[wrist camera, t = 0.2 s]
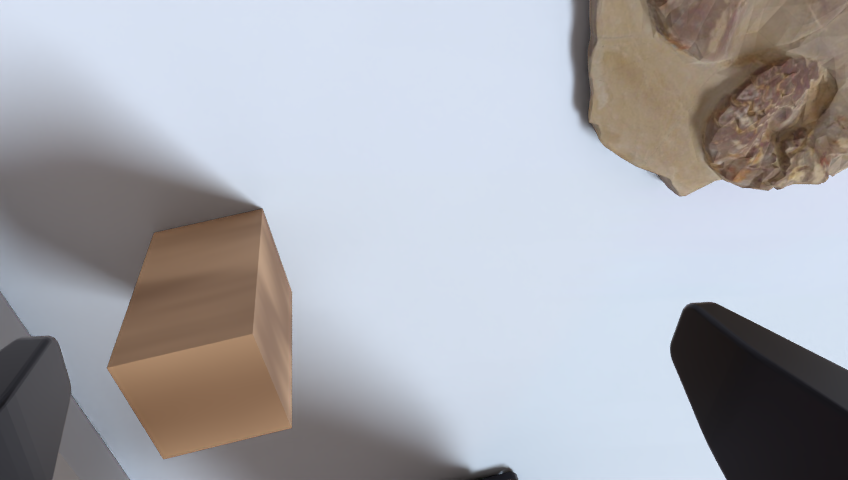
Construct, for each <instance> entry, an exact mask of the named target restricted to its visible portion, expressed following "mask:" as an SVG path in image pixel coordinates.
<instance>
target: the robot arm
mask: <svg viewBox="0 0 848 480" xmlns="http://www.w3.org/2000/svg"><path fill="white" fill-rule="evenodd" d="M670 353H671V358H672V361H673V363H674V366H675V368H676V370H677V373H678V375H679V378H680V380H681V382H682V385H683V387H684V390H685V392H686V394H687V397H688V399H689V402H690V404H691V406H692V409H693V411H694V414H695V416H696V418H697V421H698V423H699V426H700V428H701V430H702V433H703V435H704V437H705V439H706V441H707V444H708V446H709V448H710V450H711V452H712V453H713V455H714V457H715V459H716V461H717V463H718V465H719V467H720V469H721V470H722V472H723V474H724V476H725V478H726V480H848V370H847V369H845V368H843V367H841V366H839V365H837V364H835V363H833V362H831V361H829V360H827V359H825V358H823V357H821V356H819V355H817V354H815V353H813V352H811V351H809V350H807V349H805V348H803V347H801V346H799V345H797V344H795V343H793V342H791V341H790V340H788V339H786V338H784V337H782V336H780V335H778V334H776V333H774V332H772V331H770V330H768V329H766V328H764V327H762V326H760V325H758V324H756V323H754V322H752V321H750V320H748V319H746V318H744V317H742V316H740V315H738V314H736V313H734V312H732V311H730V310H728V309H726V308H724V307H722V306H720V305H718V304H716V303H713V302H701V303H690V304H688V305H686V306H685V308H684V309H683V311H682V313H681V316H680V319H679V322H678V324H677V327H676V330H675V332H674V335H673V338H672V341H671V345H670ZM70 397H71V385H70V380H69V377H68V373H67V370H66V367H65V363H64V360H63V357H62V353H61V350H60V346H59V344H58V342H57V340H56V339H55V338H53V337H51V336H33V337H21V338H18V339H16V340H14V341H12V342H11V343H9V344H8V345H7V346H5V347H4V348H2V349H1V350H0V480H53V476H54V471H55V466H56V462H57V457H58V453H59V448H60V444H61V439H62V435H63V430H64V426H65V421H66V417H67V412H68V408H69V403H70ZM480 480H518V477H517V475H516V474H515V473H513V472H508V473H504V474H500V475H496V476H492V477H488V478H484V479H480Z"/></svg>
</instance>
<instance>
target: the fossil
mask: <svg viewBox="0 0 848 480" xmlns="http://www.w3.org/2000/svg"><path fill="white" fill-rule="evenodd" d="M589 23H590V31H591V35H590V41H589V47H588V74H589V85H590V90H591V94H590V102H589V110H588V120H589V123H591V124H592V125H593V127H594V129H595V131H596V133H597V135H598V138H599V140H600V141H601V143H602V144H603V145H604V146H605V147H606V148H608V149H609V150H611V151H612V152H614V153H615V154H617V155H618V156H620V157H621V158H623V159H624V160H626V161H628V162H629V163H631V164H633V165H635V166H637V167H639V168H642V169H645V170H648V171H650V172H653V173H656V174H658V175H659V177H660V178H661V180H662V181H663V182H664V183H665V185H666V186H667V187H668V188H669V189H670V190H672V191H673V192H674V193H675V194H677V195H678V196H686V195H688V194H690V193H692V192H694V191H696V190H698V189H700V188H702V187H704V186H706V185H708V184H710V183H712V182H714V181H717V180H722V179H723V180H725V181H727V182H730V183H733V184H735V185H737V186H739V187H742V188H753V189H760V190H767V191H769V190H770V189H772V188H773V187H774V188H775V189H777V190H778V189H782V188H784V187H786V186H789V185H792V184H821V183H824V182H826V180H827V179H828V177H829V175H831V176H834V175H835V174H837V173H839V172H841V171H842V170H844V169H846V168H848V0H590V1H589Z"/></svg>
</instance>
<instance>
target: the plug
mask: <svg viewBox="0 0 848 480" xmlns="http://www.w3.org/2000/svg"><path fill="white" fill-rule="evenodd" d="M107 369H108V371H109V372H110V374H111V376H112V377H113V379H114V380H115V382H116V384H117V385H118V387H119V388H120V390H121V392H122V393H123V395H124V397H125V398H126V400H127V401H128V403H129V405H130V406H131V408H132V409H133V411H134V413H135V414H136V416H137V418H138V419H139V421H140V422H141V424H142V426H143V427H144V429H145V430H146V432H147V434H148V435H149V437H150V439H151V440H152V442H153V443H154V445H155V447H156V448H157V450H158V451H159V453H160V455H161V456H162V458H163V459H167V458H171V457H175V456H179V455H183V454H187V453H192V452H196V451H200V450H204V449H208V448H212V447H216V446H220V445H224V444H228V443H232V442H237V441H241V440H245V439H249V438H253V437H257V436H261V435H265V434H269V433H273V432H278V431H282V430H286V429H290V428H292V291H291V288H290V285H289V282H288V280H287V277H286V274H285V271H284V268H283V265H282V262H281V260H280V257H279V254H278V251H277V248H276V245H275V242H274V240H273V237H272V234H271V231H270V228H269V225H268V222H267V220H266V217H265V214H264V211H263V209H259V210H254V211H250V212H245V213H241V214H236V215H232V216H227V217H223V218H218V219H214V220H209V221H205V222H200V223H196V224H191V225H187V226H182V227H178V228H173V229H169V230H164V231H160V232H155V233H154V234H153V237H152V240H151V243H150V245H149V248H148V251H147V254H146V257H145V260H144V263H143V266H142V268H141V271H140V274H139V277H138V280H137V283H136V286H135V288H134V291H133V294H132V297H131V300H130V303H129V306H128V309H127V311H126V314H125V317H124V320H123V323H122V326H121V329H120V332H119V334H118V337H117V340H116V343H115V346H114V349H113V352H112V355H111V357H110V360H109V363H108V366H107Z"/></svg>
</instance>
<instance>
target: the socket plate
mask: <svg viewBox="0 0 848 480" xmlns="http://www.w3.org/2000/svg"><path fill="white" fill-rule="evenodd" d="M21 337H31V336H30V334H29V333H28V331H27V330H26V328H25V327H24V325H23V324H22V323H21V321H20V320H19V318H18V317H17V315H16V314H15V312H14V311H13V309H12V308H11V307H10V305H9V304H8V302H7V301H6V299H5V298H4V296H3V295H2V293H1V292H0V350H1V349H2V348H4V347H5V346H7V345H8V344H9V343H11V342H12V341H14V340H16V339H18V338H21ZM53 480H130V479H129V478H128V476H127V475H126V474H125V472H124V471H123V469H122V468H121V466H120V465H119V463H118V462H117V460H116V459H115V458H114V456H113V455H112V453H111V452H110V450H109V449H108V447H107V446H106V445H105V443H104V442H103V440H102V439H101V437H100V436H99V434H98V433H97V431H96V430H95V429H94V427H93V426H92V424H91V423H90V421H89V420H88V418H87V417H86V415H85V414H84V413H83V411H82V410H81V408H80V407H79V405H78V404H77V402H76V401H75V399H74V398H73V397H72V395H71V397H70V403H69V408H68V412H67V417H66V421H65V426H64V430H63V435H62V439H61V444H60V448H59V453H58V457H57V462H56V466H55V471H54V476H53Z"/></svg>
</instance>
